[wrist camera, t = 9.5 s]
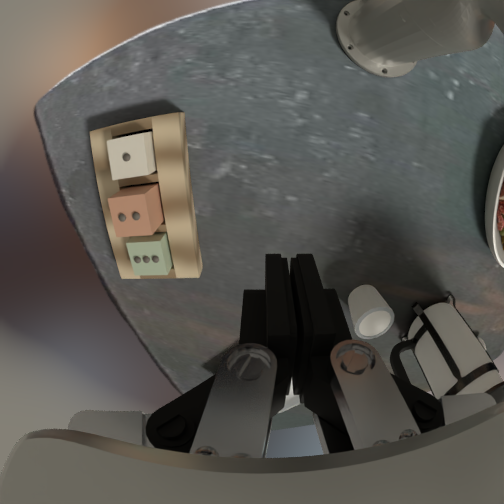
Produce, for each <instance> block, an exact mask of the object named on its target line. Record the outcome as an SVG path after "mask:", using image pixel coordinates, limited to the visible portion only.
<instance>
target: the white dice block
mask: <svg viewBox="0 0 504 504" xmlns="http://www.w3.org/2000/svg"><path fill="white" fill-rule="evenodd" d="M107 147H108V154H109V161H110V168H111V174H112V180H118V179H124V178H131V177H137V176H144V175H149V174H151V173H153V172H154V171H156V170H157V164H156V156H155V147H154V138H153V131H151V132H146V133H141V134H135V135H130V136H126V137H121V138H117V139H112V140H108V141H107Z"/></svg>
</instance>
